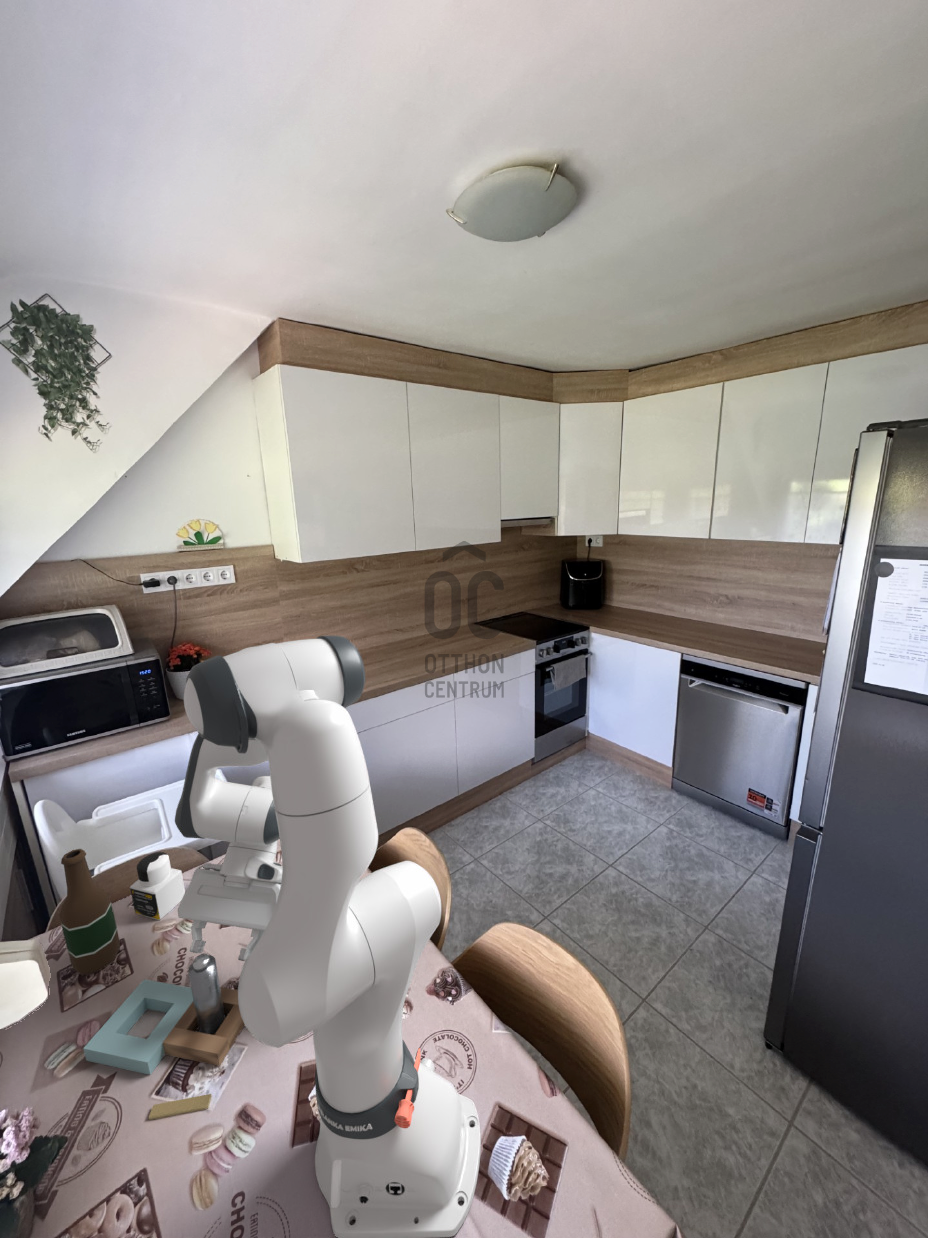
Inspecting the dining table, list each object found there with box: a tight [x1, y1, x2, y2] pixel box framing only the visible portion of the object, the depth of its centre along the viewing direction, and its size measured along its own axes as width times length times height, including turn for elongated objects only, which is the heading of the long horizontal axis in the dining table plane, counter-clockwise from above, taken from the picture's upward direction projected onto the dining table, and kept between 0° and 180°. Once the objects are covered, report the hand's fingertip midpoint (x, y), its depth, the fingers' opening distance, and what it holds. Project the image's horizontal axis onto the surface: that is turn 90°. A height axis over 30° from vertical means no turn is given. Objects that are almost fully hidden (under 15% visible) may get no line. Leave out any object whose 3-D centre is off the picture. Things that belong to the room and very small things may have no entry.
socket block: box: [163, 986, 245, 1067], centre depth 83 cm, size 10×10×2 cm
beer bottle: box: [59, 848, 121, 977], centre depth 95 cm, size 8×8×24 cm
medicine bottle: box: [129, 851, 186, 921], centre depth 109 cm, size 7×7×12 cm
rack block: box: [83, 979, 193, 1076], centre depth 84 cm, size 12×12×2 cm
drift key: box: [148, 1093, 213, 1121], centre depth 73 cm, size 8×2×1 cm, turn 99°
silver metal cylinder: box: [187, 953, 226, 1035], centre depth 82 cm, size 4×4×14 cm
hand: (219, 956), depth 85 cm, fingers open, 8 cm apart
